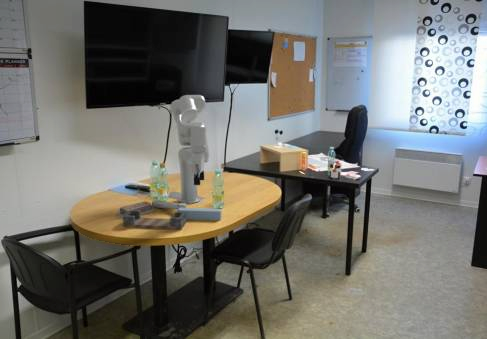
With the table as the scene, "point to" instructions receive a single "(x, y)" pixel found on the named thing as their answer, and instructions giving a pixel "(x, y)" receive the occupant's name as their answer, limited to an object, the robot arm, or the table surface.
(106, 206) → the table surface
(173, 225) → the cradle
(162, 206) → the grey long bar
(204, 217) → the slat
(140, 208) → the grey brown block
